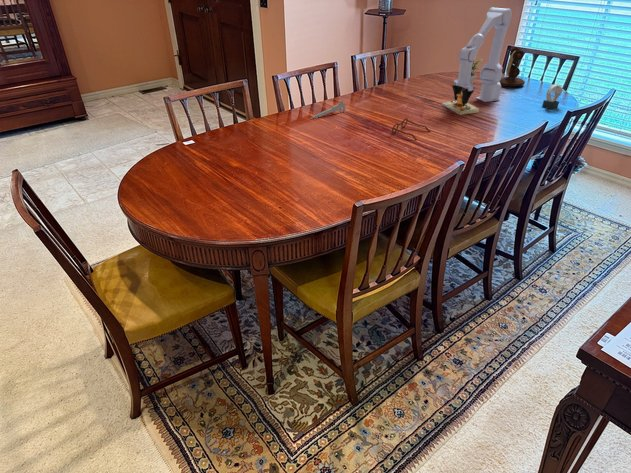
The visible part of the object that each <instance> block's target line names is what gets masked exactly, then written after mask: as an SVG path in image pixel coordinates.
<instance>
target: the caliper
mask: <svg viewBox="0 0 631 473" xmlns="http://www.w3.org/2000/svg"><path fill="white" fill-rule="evenodd" d="M338 111H339V112H340V113H341V112H342V113H345V112H346V103H345V102H344V101H343V100H341V101H339V103H338V104H336V105H333V106H332V107H330V108H328V109H326V110H324V111H322V112H319V113H317V114H315V115H313V116H311V117H310V118H311V119H312V120H314V119H313V118H316V119H318V117H319V118H320V117H323V116H325V115H328V114H330V113H332V112H333V113H335V112H338ZM343 111H344V112H343ZM311 119H310V120H311Z"/></svg>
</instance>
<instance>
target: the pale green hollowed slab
mask: <svg viewBox="0 0 631 473" xmlns="http://www.w3.org/2000/svg"><path fill="white" fill-rule="evenodd" d="M456 104H457V100H450V101H446V102H442V104H441V105H442V106H443V107H445V108H447V109H448V110H450V111H452V112H454V113H456V114H458V115H460V116H462V115H463V116H464V115H469V114H478V113H479V110H480V108H479V107H476V106H475V105H472V104H471V103H468V102H467V104H465V106H461V107H457V106H456Z"/></svg>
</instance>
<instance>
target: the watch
mask: <svg viewBox="0 0 631 473" xmlns="http://www.w3.org/2000/svg"><path fill="white" fill-rule="evenodd" d="M563 91H564V89H563V87H562V86H561V85H559V84H552V85H551V86H549V87H548V89H547V91H546V94H545V95H546V99H545V100H543V102H542V106H541V107H542V108H544V109H549V110H554V109H558V107H559V103H560V101H558V99H559V97H561V95H562V93H563ZM552 92H553V94H554V96H553V97H552Z"/></svg>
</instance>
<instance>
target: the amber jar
mask: <svg viewBox="0 0 631 473" xmlns="http://www.w3.org/2000/svg"><path fill="white" fill-rule="evenodd" d="M457 96H458V97H457V100H456V101H457V104H456V106H457V107H461V106H465V104H463V103H462V101H463V94H462V92H461V93H457Z"/></svg>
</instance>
